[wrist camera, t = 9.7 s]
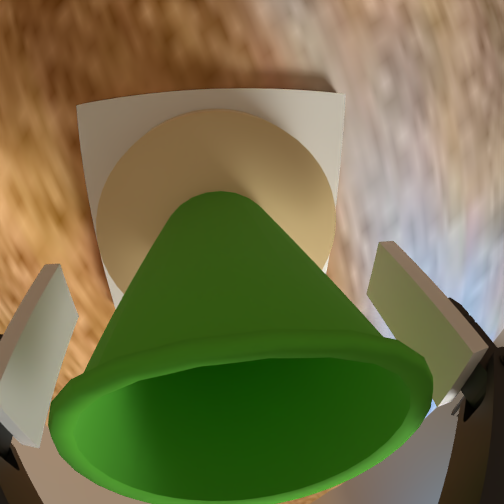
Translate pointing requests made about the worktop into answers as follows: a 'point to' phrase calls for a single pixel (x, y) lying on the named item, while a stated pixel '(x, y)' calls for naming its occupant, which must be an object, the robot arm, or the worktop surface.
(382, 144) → the worktop surface
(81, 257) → the worktop surface
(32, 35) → the worktop surface
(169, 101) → the domed square tile
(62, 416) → the cup
